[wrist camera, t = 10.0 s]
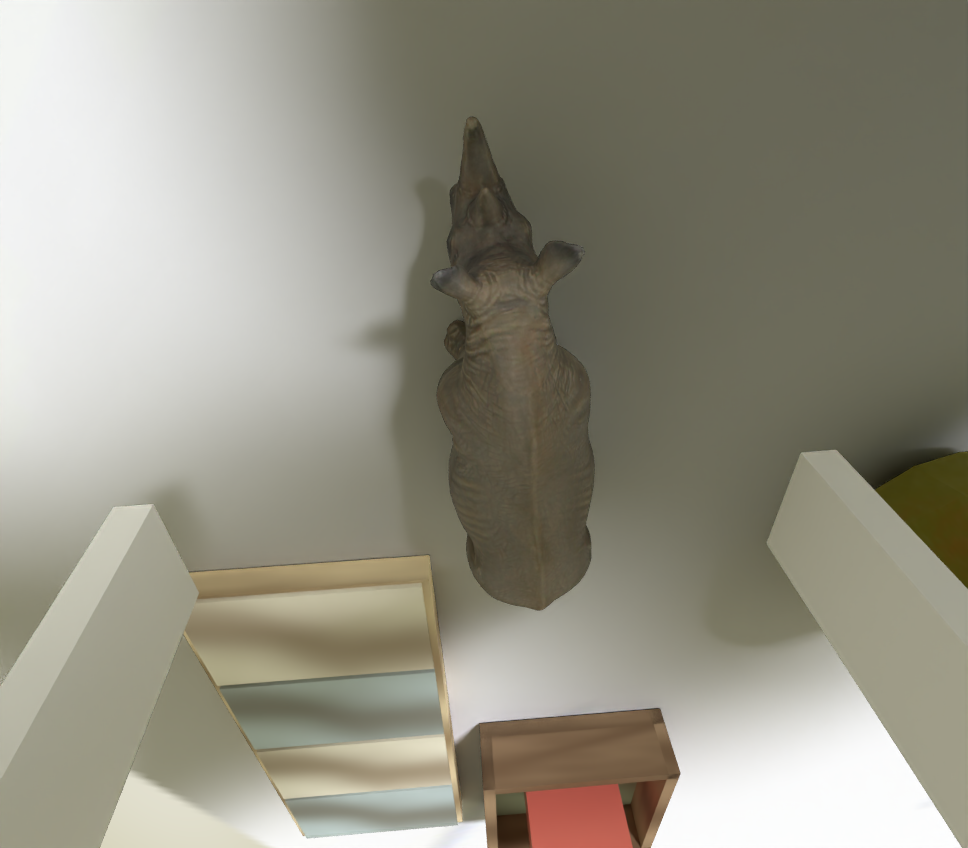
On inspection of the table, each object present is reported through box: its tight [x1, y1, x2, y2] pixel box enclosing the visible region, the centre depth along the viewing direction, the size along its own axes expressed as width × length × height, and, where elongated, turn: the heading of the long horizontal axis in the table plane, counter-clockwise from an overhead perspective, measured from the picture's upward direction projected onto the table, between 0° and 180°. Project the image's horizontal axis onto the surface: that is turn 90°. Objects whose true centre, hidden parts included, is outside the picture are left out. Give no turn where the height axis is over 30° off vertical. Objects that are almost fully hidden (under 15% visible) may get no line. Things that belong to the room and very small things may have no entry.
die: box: [524, 784, 633, 848], centre depth 32 cm, size 5×5×5 cm
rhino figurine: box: [431, 117, 595, 610], centre depth 15 cm, size 4×14×6 cm, turn 6°
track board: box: [183, 555, 462, 838], centre depth 29 cm, size 24×10×1 cm, turn 2°
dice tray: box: [479, 709, 680, 848], centre depth 33 cm, size 11×10×3 cm
